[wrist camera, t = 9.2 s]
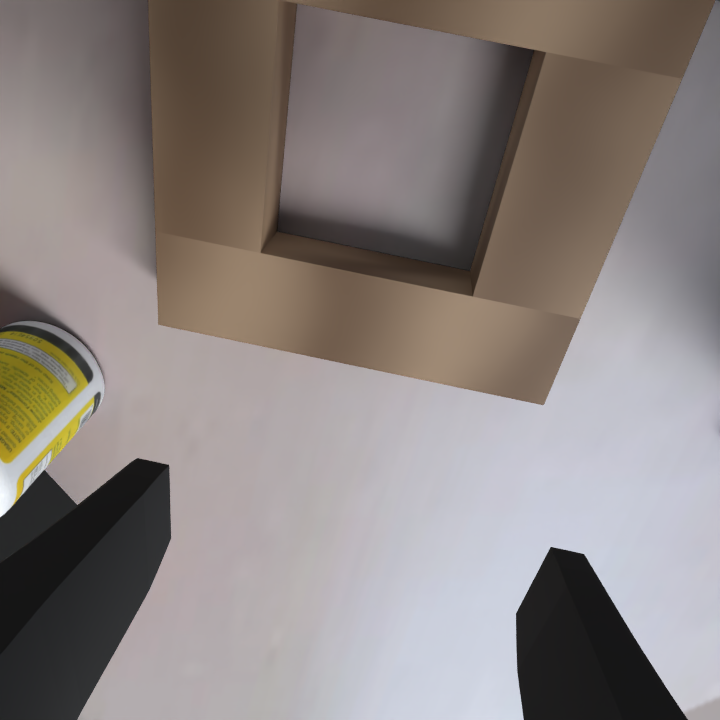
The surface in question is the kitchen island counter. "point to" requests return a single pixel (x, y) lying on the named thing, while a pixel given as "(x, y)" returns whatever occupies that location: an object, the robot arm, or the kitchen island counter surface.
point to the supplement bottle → (41, 400)
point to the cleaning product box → (33, 514)
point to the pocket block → (388, 272)
